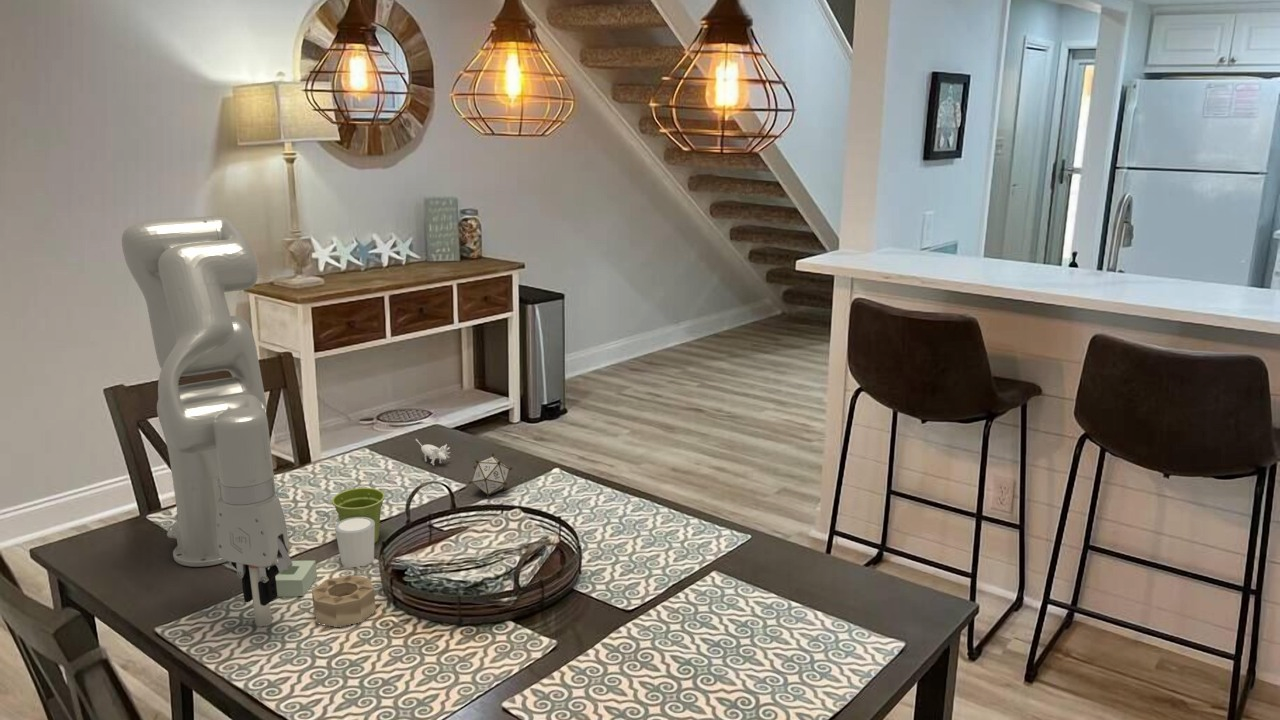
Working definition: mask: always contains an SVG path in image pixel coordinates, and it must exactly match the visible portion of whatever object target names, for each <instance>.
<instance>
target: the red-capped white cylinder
mask: <svg viewBox="0 0 1280 720" xmlns="http://www.w3.org/2000/svg"><path fill="white" fill-rule="evenodd" d="M249 573H250V581H251V590H252V598H253V600H252V604H253V612H254V620H255V622H254V623H255V626H256V627H259V628H262V626H264V627H267V626H269V624H270V625H271V624H272V623H273V617H272V609H271V602H270V603H268V604H267V605H265V606H263V605H261V604H260V598H259V589H258V582H260V581H261V579H260V572H259V567H256V566H250V565H249ZM271 622H272V623H271Z"/></svg>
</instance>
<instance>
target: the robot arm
mask: <svg viewBox="0 0 1280 720" xmlns="http://www.w3.org/2000/svg"><path fill="white" fill-rule="evenodd" d="M121 246H122V252H123V256H124V260H125V263H126V265H127V267H128V270H129V273H130V274H131V275H132V277H133V279H134V280H135V282H136V284H137V285H138V288H139V289H140V290H141V293H142V295H143V298H144V299H145V302H146V303H145V304H146V307H147V312H148V318H149V324H150V328H151V332H152V333H151V335H152V340H153V345H154V350H155V355H156V359H157V362H158V365H159V368H160V372H159V377H158V384H157V395H158V397H157V398H158V400H157V402H156V413H157V417H158V421H159V424H160V426H161V427H160V428H161V430H162V433H163V437H164V440H165V443H166V448H167V453H168V457H169V463H170V464H169V465H170V470H171V476H172V485H173V491H174V492H173V493H174V498H175V507H176V513H177V521H175V522H174V523H172V525H171V529H169V530H168V531H167V533H166V536H167V537H168V538H169V539H176V542H177V545H176V546H175V548H174V549H173V550H172V556H173V560H174V561H175V562H176V563H177V564H178V565H181V566H186V567H194V568H198V567H199V568H200V567H210V566H216V565H220V564H223V563H226V562H227V563H228V562H229V563H230V564H231V565H232V567H234V569H235V570H236V574H237V577H238V578H239V579H241V585H242V594H243V601H244V602H245V603H250V602H251V601H253V598H252V590H251V581H250V573H249V565H250V566H256V567H259V572H260V579H261V581H260V582H258V589H259V598H260V604H261V605H263V606H265V605H267V604H268V603H270V604H271V602H273V601H274V600H276V599H277V598H278V597H277V586H276V577H275V576H276V575H278V574H279V572H280V571H283V570H286V569H288V568H289V567H291V566H292V561H293V560H292V559H291V557H290V556H289V551H290V546H289V544H290V542H289V536H288V528H287V523H286V517H285V513H284V509H283V507H282V504H281V502H280V498H279V496H277V495H276V493H277V492H276V486H275V475H274V465H273V457H272V448H271V439H270V430H269V429H270V428H269V421H268V414H267V403H266V402H267V401H266V395H265V390H264V383H263V378H262V372H261V367H260V361H259V355H258V350H257V345H256V341H255V337H254V332H253V331H252V329H251V327H250V324H248V322H247V321H246V320H245V319H243V318H242V317H240V316H236V315H231V314H230V310H229V307H228V303H227V299H226V295H225V293H228V292H229V293H230V292H238V291H239V292H240V291H244V290H245V291H246V290H250V289H253V287H254V286H256V283H257V281H258V278H259V277H258V274H259V273H258V272H259V271H258V264H257V260H256V256H255V254H254V251H253V249H252V247H251V246H250V244H249V242H248V240H247V239H246V238H245V236H244V235H243V234H242V233H241V231H240V230H239V228H237V226H236V225H235V224H234V222H232V221H231V220H230V219H229V218H227V217H225V216H219V215H218V216H217V215H215V216H213V215H211V216H210V215H209V216H197V217H196V216H194V217H177V218H162V219H153V220H152V219H151V220H146V221H145V220H144V221H140V222H136V223H134V224H131V225H130V226H127V228H126V229H124V230H123V233H122V234H121ZM222 371H226V372H229V373H230V374H231V376H230V377H225V378H224V377H223V378H219V379H213V380H209V379H208V380H205V381H199V382H198V381H196V382H192V383H186V384H181V385H180V384H179V383H180V382H179V381H180V378H181V377H189V376H195V375H203V374H209V373H215V372H222ZM277 561H278V562H277ZM269 567H270V568H269Z"/></svg>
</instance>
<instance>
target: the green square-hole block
mask: <svg viewBox="0 0 1280 720" xmlns="http://www.w3.org/2000/svg"><path fill="white" fill-rule="evenodd" d="M291 561H292V566H291V567H289V568H288V569H286V570H283V571H280V572H279V574H278V575H276V576H275V577H276V586H277V598H282V597H283V598H284V597H285V598H296V597H297V596H304V597H305V596H306V594H307V592H308V591H309V589H310V588H311V586H312V585H313V583H314V582H315V580H316V579H317V577H318V572H317V570H318V569H317V564H316V563H317V561H316V560H291ZM277 562H278V560H277ZM269 568H270V567H268V569H269ZM307 590H308V591H307ZM305 593H306V594H305ZM297 598H298V597H297Z"/></svg>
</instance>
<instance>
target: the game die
mask: <svg viewBox="0 0 1280 720" xmlns="http://www.w3.org/2000/svg"><path fill="white" fill-rule="evenodd" d="M475 463H476V465H473V469H475V470H474V472H473V476H472V479H471V481H470V480H469V481H468V482H467V484H469V485H471V484H473V485H474V486H476V487H477V488H478V489H479V490H481V491H482V492H483V493H485V494H486V498H487V500H488V499H489V498H490V495H492V494H494V493H496V492H498V491H500V490H502V491H503V492H506V488H505V486H508V485H509V484H508V482H507V479H508V476H509V472H510V471H511V470H513V469H514V467H508V466H507V465H505V464H504V463H503V462H502V461H501V460H500V459H497V458H496V457H495V453H494V452H492V453H491V456H490V457H488V458H485V459H482V460H480V461H479V460H478V459H475Z"/></svg>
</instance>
